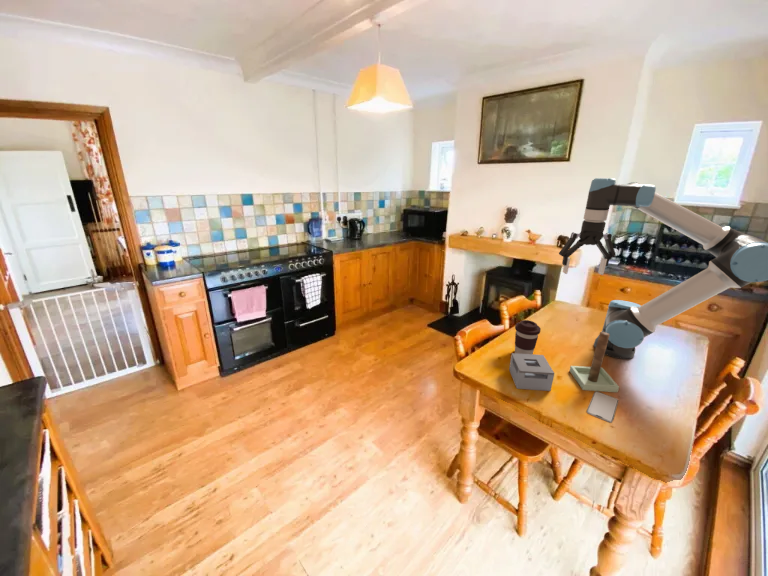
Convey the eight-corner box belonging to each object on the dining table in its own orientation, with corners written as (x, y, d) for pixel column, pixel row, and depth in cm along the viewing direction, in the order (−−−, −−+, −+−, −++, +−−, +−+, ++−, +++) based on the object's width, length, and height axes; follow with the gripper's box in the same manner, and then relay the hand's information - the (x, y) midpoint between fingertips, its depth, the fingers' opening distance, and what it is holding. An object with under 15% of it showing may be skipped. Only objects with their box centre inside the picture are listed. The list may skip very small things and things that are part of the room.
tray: (601, 372, 129) (602, 367, 128) (617, 392, 118) (619, 386, 117) (569, 370, 130) (570, 365, 130) (582, 389, 119) (584, 384, 118)
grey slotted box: (540, 371, 130) (543, 355, 127) (550, 390, 119) (554, 373, 116) (509, 369, 131) (511, 353, 129) (516, 388, 120) (519, 370, 117)
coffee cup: (537, 361, 137) (543, 329, 132) (513, 358, 139) (518, 327, 133) (532, 349, 146) (538, 319, 141) (509, 346, 148) (514, 317, 143)
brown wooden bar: (594, 377, 125) (607, 332, 118) (598, 382, 122) (611, 336, 115) (586, 377, 125) (598, 331, 118) (590, 381, 123) (602, 335, 116)
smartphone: (619, 399, 114) (612, 422, 104) (618, 400, 114) (611, 424, 104) (595, 390, 119) (586, 411, 108) (594, 391, 119) (585, 413, 108)
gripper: (624, 219, 125) (610, 271, 133) (556, 218, 128) (547, 269, 136) (635, 222, 118) (620, 277, 126) (563, 221, 121) (553, 275, 129)
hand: (582, 273), depth 131 cm, fingers open, 13 cm apart
